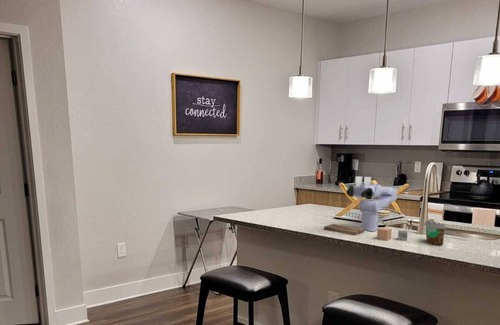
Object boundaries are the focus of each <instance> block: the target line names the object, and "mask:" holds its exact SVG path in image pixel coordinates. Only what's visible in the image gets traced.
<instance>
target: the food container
mask: <svg viewBox="0 0 500 325" xmlns="http://www.w3.org/2000/svg"><path fill="white" fill-rule="evenodd" d="M434 220H435V219H433V218H431V219H426V220H425V221H424V223H423V224H424V226H425V235H426V236H425V237H426V243H428V244H429V245H435V246H442V245H443V246H444V236H445V230H446V225H445V223H443V224H442V223H440V222H437V221H434Z"/></svg>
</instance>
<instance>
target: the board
mask: <svg viewBox="0 0 500 325" xmlns="http://www.w3.org/2000/svg"><path fill="white" fill-rule="evenodd" d="M323 230H325V231H330V232H336V233H341V234H346V235H352V236H358V235H360V234H363V233H365V230H364V229H360V227H353V226H348V225H343V224H336V223H331V224H329V225H325V226H324V227H323Z"/></svg>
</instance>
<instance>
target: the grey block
mask: <svg viewBox="0 0 500 325" xmlns="http://www.w3.org/2000/svg"><path fill="white" fill-rule="evenodd" d="M397 240H398V241H403V242H407V241H408V230H399V229H398V230H397Z"/></svg>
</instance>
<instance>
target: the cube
mask: <svg viewBox="0 0 500 325" xmlns="http://www.w3.org/2000/svg"><path fill="white" fill-rule="evenodd" d="M392 230H393V229H392V228H388V227H382V226H381V227H378V229H377V230H376V232H377V233H376V239H377V240H382V241H387V242H388V241H390V240H391V239H392Z"/></svg>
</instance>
